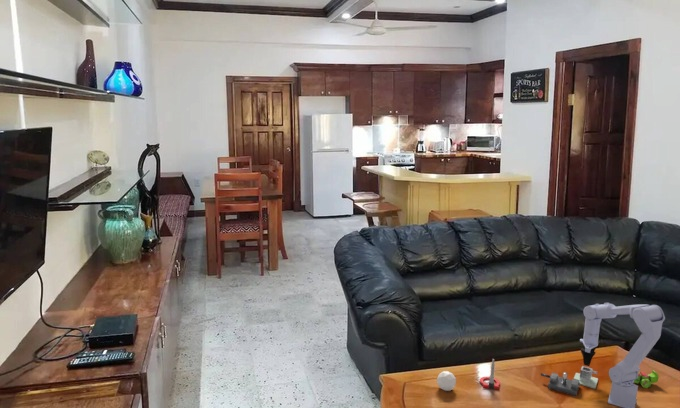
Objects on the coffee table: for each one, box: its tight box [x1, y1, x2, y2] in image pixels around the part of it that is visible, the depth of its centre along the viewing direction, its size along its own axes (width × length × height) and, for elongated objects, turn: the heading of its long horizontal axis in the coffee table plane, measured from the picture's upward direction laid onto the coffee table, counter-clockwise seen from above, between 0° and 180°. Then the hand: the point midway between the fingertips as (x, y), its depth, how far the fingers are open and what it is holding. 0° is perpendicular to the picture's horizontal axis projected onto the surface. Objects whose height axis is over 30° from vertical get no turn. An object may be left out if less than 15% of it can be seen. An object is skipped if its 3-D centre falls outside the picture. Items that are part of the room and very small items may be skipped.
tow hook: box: [479, 358, 501, 390], centre depth 222 cm, size 8×13×9 cm
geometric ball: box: [436, 370, 457, 392], centre depth 217 cm, size 8×8×8 cm
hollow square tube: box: [579, 365, 598, 383], centre depth 226 cm, size 6×4×5 cm
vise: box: [540, 371, 581, 397], centre depth 222 cm, size 15×9×6 cm, turn 58°
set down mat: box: [573, 372, 599, 390], centre depth 227 cm, size 9×9×1 cm
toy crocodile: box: [608, 369, 660, 389], centre depth 226 cm, size 20×7×6 cm, turn 82°
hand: (587, 361), depth 225 cm, fingers open, 7 cm apart
